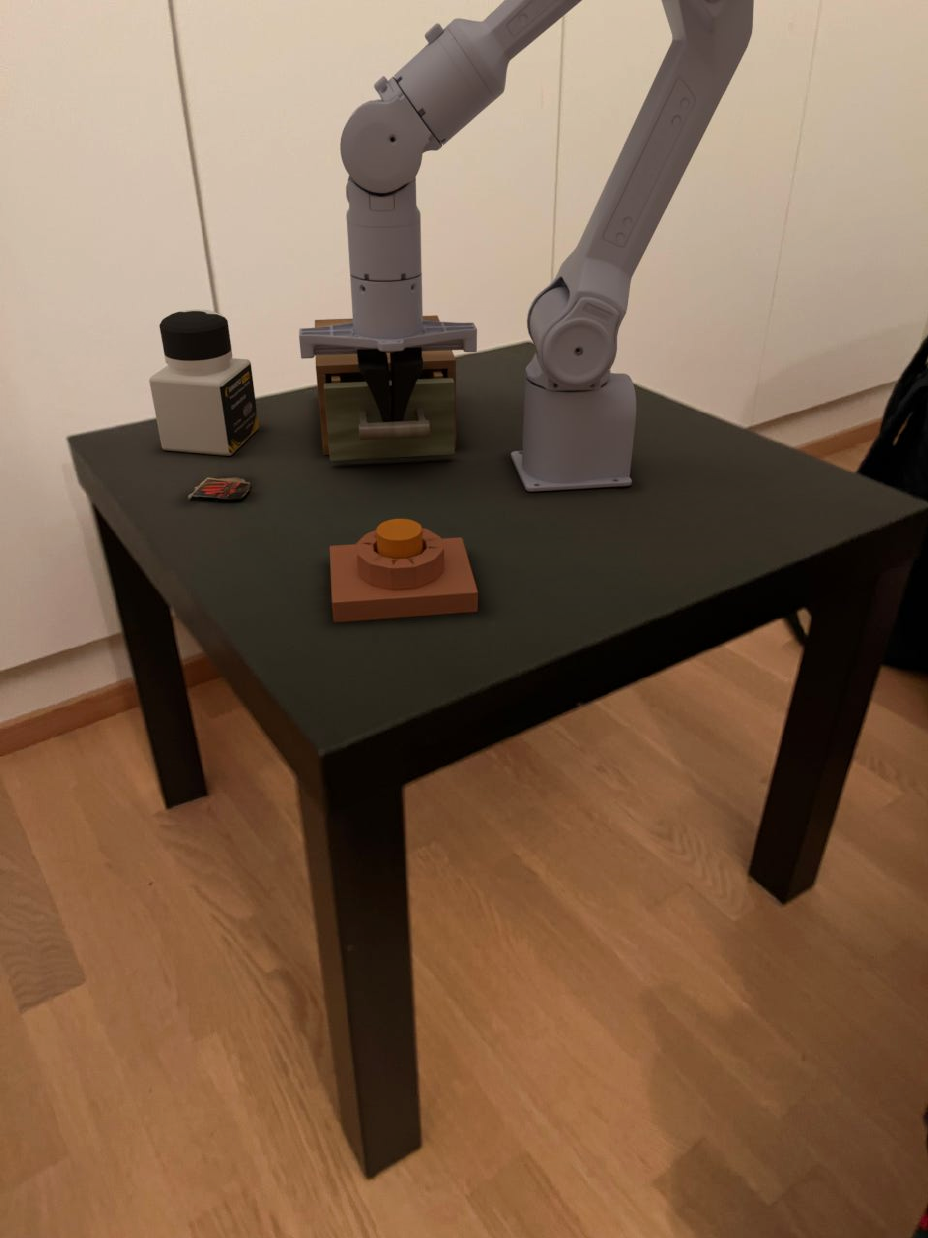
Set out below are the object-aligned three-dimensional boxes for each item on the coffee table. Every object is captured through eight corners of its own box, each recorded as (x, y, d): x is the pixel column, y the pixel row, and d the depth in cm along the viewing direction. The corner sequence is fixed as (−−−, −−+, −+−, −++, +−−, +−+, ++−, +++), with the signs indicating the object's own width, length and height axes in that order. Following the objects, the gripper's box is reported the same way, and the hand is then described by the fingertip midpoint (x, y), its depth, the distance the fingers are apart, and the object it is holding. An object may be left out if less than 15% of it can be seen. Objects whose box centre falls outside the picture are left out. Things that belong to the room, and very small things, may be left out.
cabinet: (456, 448, 89) (456, 359, 84) (323, 455, 88) (315, 365, 83) (438, 395, 101) (437, 314, 96) (321, 400, 100) (314, 319, 95)
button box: (462, 556, 72) (462, 515, 70) (477, 612, 65) (478, 569, 63) (331, 565, 70) (327, 523, 69) (333, 623, 64) (329, 579, 62)
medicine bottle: (231, 457, 87) (212, 328, 81) (160, 451, 88) (136, 323, 82) (260, 428, 93) (245, 306, 86) (193, 423, 94) (173, 302, 88)
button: (420, 538, 68) (419, 516, 67) (424, 560, 65) (424, 538, 64) (376, 541, 67) (374, 519, 66) (378, 563, 65) (377, 541, 64)
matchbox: (248, 501, 79) (247, 496, 79) (186, 504, 79) (185, 499, 78) (252, 478, 83) (252, 473, 83) (194, 480, 83) (193, 475, 82)
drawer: (461, 475, 82) (461, 400, 78) (330, 483, 80) (324, 407, 77) (437, 402, 97) (436, 336, 93) (327, 407, 95) (321, 341, 92)
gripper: (292, 288, 70) (308, 456, 77) (483, 282, 72) (481, 448, 79) (294, 266, 76) (308, 424, 83) (470, 261, 78) (469, 417, 85)
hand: (392, 434), depth 82 cm, fingers closed, pressing on drawer
